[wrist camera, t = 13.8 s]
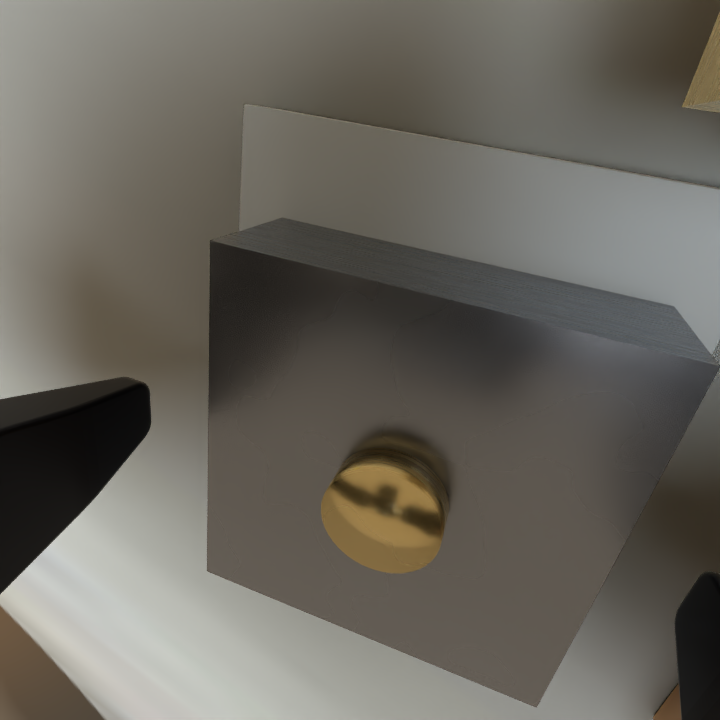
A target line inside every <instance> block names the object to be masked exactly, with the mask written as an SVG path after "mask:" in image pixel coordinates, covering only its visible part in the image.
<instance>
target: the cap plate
mask: <svg viewBox="0 0 720 720" xmlns="http://www.w3.org/2000/svg"><path fill="white" fill-rule="evenodd" d="M719 368H720V365H719V364H718V363H717V361H716V360H715V359H714V357H713V356H712V355H711V354H710V352H709V351H708V350H707V348H706V347H705V346H704V344H703V343H702V342H701V341H700V339H699V338H698V337H697V335H696V334H695V333H694V331H693V330H692V329H691V328H690V326H689V325H688V324H687V322H686V321H685V320H684V318H683V317H682V316H681V315H680V313H679V312H678V311H677V309H676V308H675V307H674V306H671V305H667V304H662V303H658V302H653V301H649V300H645V299H640V298H636V297H631V296H627V295H622V294H618V293H614V292H609V291H605V290H600V289H596V288H592V287H587V286H583V285H578V284H574V283H569V282H565V281H561V280H556V279H552V278H547V277H543V276H538V275H534V274H530V273H525V272H521V271H516V270H512V269H508V268H503V267H499V266H494V265H490V264H485V263H481V262H477V261H472V260H468V259H463V258H459V257H455V256H450V255H446V254H441V253H437V252H432V251H428V250H424V249H419V248H415V247H410V246H406V245H402V244H397V243H393V242H388V241H384V240H379V239H375V238H371V237H366V236H362V235H357V234H353V233H349V232H344V231H340V230H335V229H331V228H326V227H322V226H318V225H313V224H309V223H304V222H300V221H296V220H291V219H287V218H279V219H276V220H273V221H269V222H266V223H263V224H260V225H257V226H254V227H251V228H248V229H245V230H242V231H239V232H235V233H232V234H229V235H226V236H223V237H220V238H217V239H214V240H211V241H210V313H209V418H208V522H207V571H208V572H210V573H213V574H215V575H217V576H220V577H222V578H225V579H227V580H230V581H232V582H234V583H237V584H239V585H242V586H244V587H246V588H249V589H251V590H254V591H256V592H259V593H261V594H263V595H266V596H268V597H271V598H273V599H275V600H278V601H280V602H283V603H285V604H288V605H290V606H292V607H295V608H297V609H300V610H302V611H304V612H307V613H309V614H312V615H314V616H317V617H319V618H321V619H324V620H326V621H329V622H331V623H333V624H336V625H338V626H341V627H343V628H346V629H348V630H350V631H353V632H355V633H358V634H360V635H363V636H365V637H367V638H370V639H372V640H375V641H377V642H379V643H382V644H384V645H387V646H389V647H392V648H394V649H396V650H399V651H401V652H404V653H406V654H408V655H411V656H413V657H416V658H418V659H421V660H423V661H425V662H428V663H430V664H433V665H435V666H437V667H440V668H442V669H445V670H447V671H450V672H452V673H454V674H457V675H459V676H462V677H464V678H466V679H469V680H471V681H474V682H476V683H479V684H481V685H483V686H486V687H488V688H491V689H493V690H495V691H498V692H500V693H503V694H505V695H508V696H510V697H512V698H515V699H517V700H520V701H522V702H524V703H527V704H529V705H532V706H534V707H537V706H538V704H539V702H540V700H541V698H542V696H543V695H544V693H545V691H546V689H547V687H548V685H549V683H550V682H551V680H552V678H553V676H554V674H555V672H556V670H557V669H558V667H559V665H560V663H561V661H562V659H563V657H564V656H565V654H566V652H567V650H568V648H569V646H570V644H571V643H572V641H573V639H574V637H575V635H576V633H577V631H578V630H579V628H580V626H581V624H582V622H583V620H584V618H585V617H586V615H587V613H588V611H589V609H590V607H591V605H592V604H593V602H594V600H595V598H596V596H597V594H598V592H599V591H600V589H601V587H602V585H603V583H604V581H605V579H606V578H607V576H608V574H609V572H610V570H611V568H612V566H613V565H614V563H615V561H616V559H617V557H618V555H619V553H620V552H621V550H622V548H623V546H624V544H625V542H626V540H627V539H628V537H629V535H630V533H631V531H632V529H633V527H634V526H635V524H636V522H637V520H638V518H639V516H640V514H641V513H642V511H643V509H644V507H645V505H646V503H647V501H648V500H649V498H650V496H651V494H652V492H653V490H654V488H655V487H656V485H657V483H658V481H659V479H660V477H661V475H662V474H663V472H664V470H665V468H666V466H667V464H668V462H669V461H670V459H671V457H672V455H673V453H674V451H675V449H676V448H677V446H678V444H679V442H680V440H681V438H682V436H683V435H684V433H685V431H686V429H687V427H688V425H689V423H690V422H691V420H692V418H693V416H694V414H695V412H696V410H697V409H698V407H699V405H700V403H701V401H702V399H703V397H704V396H705V394H706V392H707V390H708V388H709V386H710V384H711V383H712V381H713V379H714V377H715V375H716V373H717V371H718V370H719Z"/></svg>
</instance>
